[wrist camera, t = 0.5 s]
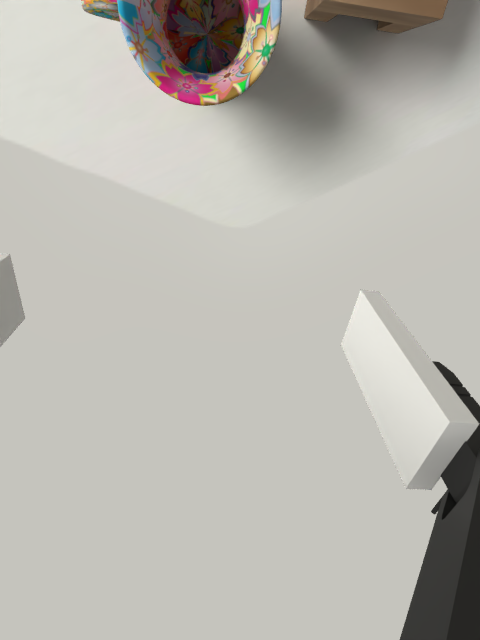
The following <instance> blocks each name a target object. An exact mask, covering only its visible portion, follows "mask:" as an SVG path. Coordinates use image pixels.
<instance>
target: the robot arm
mask: <svg viewBox="0 0 480 640" xmlns="http://www.w3.org/2000/svg"><path fill="white" fill-rule="evenodd" d="M24 319H25V316H24V311H23V308H22V303H21V299H20V295H19V290H18V286H17V282H16V278H15V274H14V270H13V265H12V261H11V257H10V254H3V253H0V347H1V346H2V345H3V343H4V342H5V341H6V340H7V339H8V338H9V336H10V335H11V334H12V333H13V332H14V331H15V330H16V328H17V327H18V326H19V325H20V324H21V323H22V321H23V320H24ZM341 346H342V348H343V351H344V353H345V355H346V357H347V360H348V362H349V364H350V366H351V368H352V371H353V372H354V375H355V377H356V379H357V382H358V384H359V386H360V388H361V391H362V393H363V395H364V397H365V399H366V402H367V404H368V406H369V408H370V410H371V413H372V415H373V417H374V419H375V422H376V423H377V426H378V428H379V430H380V433H381V435H382V436H383V439H384V441H385V444H386V446H387V448H388V450H389V452H390V455H391V457H392V459H393V461H394V464H395V466H396V468H397V470H398V472H399V475H400V477H401V479H402V481H403V484H404V486H405V488H406V489H425V490H426V489H427V490H431V489H432V488H433V487H434V485H435V484H436V483H437V481H438V480H439V479H440V477H442V479H443V481H444V483H445V484H446V486H447V488H448V490H447V491H446V492H445V494H444V495H443V496H442V498H441V499H440V500H439V502H438V503H437V504H436V505H435V507H434V508H433V509H432V511H431V512H432V513H433V514H436V512H437V511H438V514H437V517H436V520H435V523H434V527H433V530H432V534H431V537H430V540H429V544H428V547H427V550H426V554H425V557H424V560H423V564H422V567H421V571H420V574H419V577H418V580H417V584H416V587H415V591H414V594H413V597H412V601H411V604H410V607H409V611H408V614H407V617H406V621H405V624H404V627H403V631H402V634H401V637H400V640H480V406H479V405H478V403H477V402H476V401H475V400H474V398H473V397H470V393H469V392H468V391H467V390H466V388H465V387H462V383H461V382H460V381H459V380H458V378H457V377H456V376H455V375H454V373H453V372H451V371H450V370H449V369H447V368H446V367H445V366H444V365H442V364H441V363H440V362H433V361H431V359H430V358H429V357H428V355H427V354H426V353H425V351H424V350H423V349H422V348H421V346H420V345H419V344H418V342H417V341H416V340H415V338H414V337H413V336H412V334H411V333H410V332H409V331H408V329H407V328H406V327H405V325H404V324H403V323H402V321H401V320H400V319H399V317H398V316H397V315H396V313H395V312H394V311H393V309H392V308H391V307H390V305H389V304H388V303H387V301H386V300H385V299H384V297H383V296H382V295H381V293H380V292H378V291H368V290H361V291H360V293H359V296H358V299H357V302H356V304H355V308H354V310H353V313H352V316H351V318H350V322H349V324H348V327H347V330H346V333H345V335H344V338H343V341H342V344H341Z"/></svg>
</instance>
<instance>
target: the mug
mask: <svg viewBox="0 0 480 640" xmlns="http://www.w3.org/2000/svg"><path fill="white" fill-rule="evenodd" d="M81 1H82V7H83V9H84V11H86V12H88V13H90V14H93V15H96V16H100V17H103V18H107V19H111V20H115V21H120V22H121V26H122V30H123V33H124V36H125V39H126V42H127V44H128V46H129V49H130V51H131V53H132V55H133V57H134V59H135V60H136V62H137V63H138V65H139V67H140V68H141V69H142V71H143V72H144V73H145V75H146V76H147V77H148V78H149V79H150V80H151V81H152V82H153V83H154V84H155V85H156V86H157V87H158V88H160V89H161V90H162V91H163V92H165V93H166V94H168V95H170V96H171V97H173V98H175V99H177V100H180V101H182V102H185V103H189V104H193V105H202V106H208V105H216V104H221V103H224V102H227V101H229V100H232V99H234V98H235V97H237V96H239V95H240V94H242V93H243V92H245V91H246V90H247V89H248V88H249V87H250V86H251V85H252V84H253V83H254V82H255V81H256V80H257V79H258V77H259V76H260V75H261V73H262V72H263V70H264V69H265V67H266V66H267V64H268V62H269V60H270V58H271V55H272V53H273V51H274V48H275V45H276V42H277V38H278V34H279V29H280V22H281V12H282V0H81Z"/></svg>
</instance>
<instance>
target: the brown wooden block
mask: <svg viewBox="0 0 480 640" xmlns="http://www.w3.org/2000/svg"><path fill="white" fill-rule="evenodd" d="M447 2H448V0H307V5H306V11H305V17H304V18H306V19H312V20H318V21H324V22H328V21H329V20H331V19H332V18H334V17H335V16H337V15H338V14H341V15H348V16H354V17H360V18H366V19H372V20H378V21H379V22H378V26H377V30H381V31H387V32H393V33H401V32H404V31H407V30H410V29H413V28H416V27H419V26H422V25H425V24H428V23H431V22H434V21H437V20H440V19H442V18H443V15H444V11H445V8H446V5H447Z"/></svg>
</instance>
